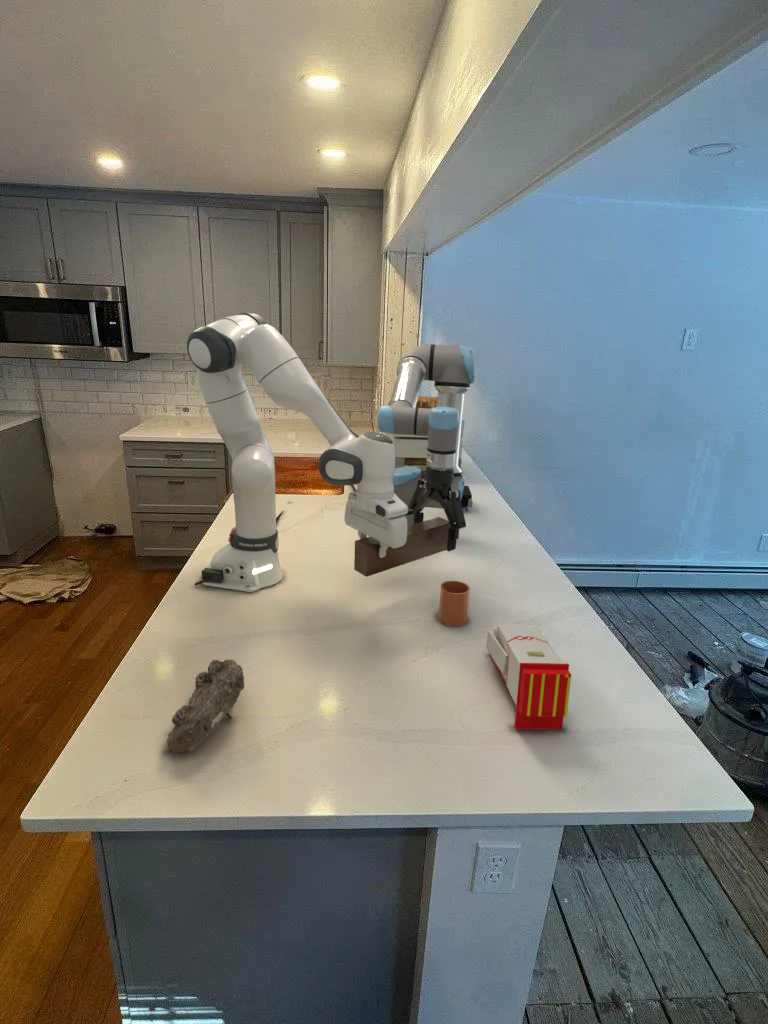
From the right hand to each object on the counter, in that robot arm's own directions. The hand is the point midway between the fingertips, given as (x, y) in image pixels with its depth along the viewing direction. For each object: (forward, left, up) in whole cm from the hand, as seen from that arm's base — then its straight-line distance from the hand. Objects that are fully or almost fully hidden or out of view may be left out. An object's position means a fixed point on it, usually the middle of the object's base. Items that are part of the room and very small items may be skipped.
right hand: (434, 542), depth 157 cm
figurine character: (-43, +61, -14) cm, 76 cm away
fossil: (+13, -72, -14) cm, 74 cm away
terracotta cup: (+15, -7, -14) cm, 22 cm away
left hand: (0, -22, +3) cm, 22 cm away
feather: (-76, -3, -14) cm, 77 cm away
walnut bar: (0, -11, -2) cm, 11 cm away
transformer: (-89, +82, -14) cm, 121 cm away
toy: (+43, -16, -14) cm, 48 cm away
